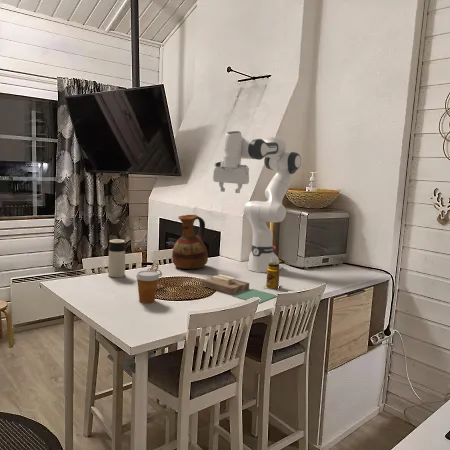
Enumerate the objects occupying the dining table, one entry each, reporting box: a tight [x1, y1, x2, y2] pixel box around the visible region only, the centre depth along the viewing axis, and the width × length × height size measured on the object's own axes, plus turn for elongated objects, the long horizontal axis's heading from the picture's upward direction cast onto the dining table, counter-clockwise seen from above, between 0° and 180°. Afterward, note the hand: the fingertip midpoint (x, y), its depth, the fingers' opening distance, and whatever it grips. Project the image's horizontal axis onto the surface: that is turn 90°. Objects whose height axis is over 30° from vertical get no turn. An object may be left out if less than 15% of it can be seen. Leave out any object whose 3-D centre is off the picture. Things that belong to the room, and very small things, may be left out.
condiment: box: [263, 263, 283, 291], centre depth 206 cm, size 7×8×12 cm
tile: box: [212, 273, 236, 284], centre depth 201 cm, size 6×9×2 cm, turn 52°
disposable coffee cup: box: [135, 270, 160, 304], centre depth 175 cm, size 10×10×12 cm
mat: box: [232, 288, 277, 304], centre depth 191 cm, size 16×14×1 cm
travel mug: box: [107, 238, 126, 278], centre depth 211 cm, size 8×8×18 cm
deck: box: [200, 277, 250, 296], centre depth 201 cm, size 14×18×3 cm
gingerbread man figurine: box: [146, 262, 165, 288], centre depth 193 cm, size 9×4×12 cm, turn 138°
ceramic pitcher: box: [171, 214, 209, 270], centre depth 236 cm, size 20×20×30 cm
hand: (230, 192), depth 210 cm, fingers open, 8 cm apart
